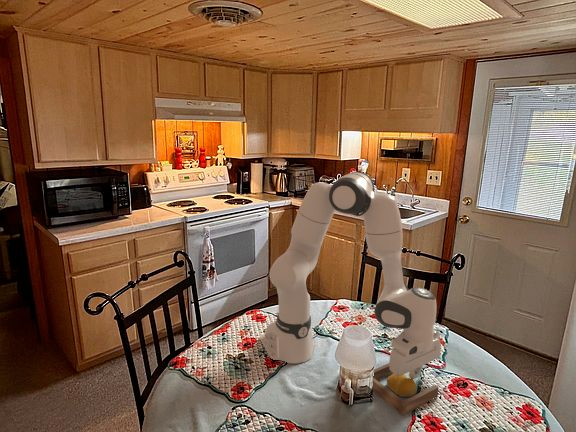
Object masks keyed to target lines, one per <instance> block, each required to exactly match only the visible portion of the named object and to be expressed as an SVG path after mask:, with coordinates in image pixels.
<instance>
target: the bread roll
mask: <svg viewBox="0 0 576 432" xmlns="http://www.w3.org/2000/svg"><path fill="white" fill-rule="evenodd" d="M386 385H387V388H388V389H389V390H390V391H391V392H392V393H394V394H395V395H396V396H398V397H403V398H406V397H408V398H410V397H413V396H414V395H416V393H417V387H418V386H417V384H416V382H415V379H411V378H410V377H408V376H407V375H406V374H403V375H401V376H396V375H395V374H394V373H392V374H390V375H388V377H387V379H386Z"/></svg>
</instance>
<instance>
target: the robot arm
mask: <svg viewBox="0 0 576 432" xmlns="http://www.w3.org/2000/svg"><path fill="white" fill-rule="evenodd" d="M374 191H375V185H374V181H373V179H372V177H371V176H370V175H369V174H367V173H365V172H363V171H353V172H350V173H346V174H344V175H343V176H341V177H340V178H339V179H337V180H336V181H334V182H333V183H332V184H329V183H327V182H321V181H320V182H315V183H313V184H312V185H311V186H309V189H308V190H307V192H306V194H305V196H304V197H303V199H302V201H301V203H300V206H299V208H298V211H297V213H296V216H295V219H294V222H293V224H292V228H291V230H290V233H291V239H290V243H289V246H288V248H287V249H286V251H285V252H284V253H283V254H281V255H280V256H279V257H278V258H276V259H275V261H274V263H273V264H272V265H271V267H270V269H269V281H270V282H271V284H272V285H273V286H274V287H275V288H276V292H277V296H278V312H275V313H274V315H275V317H276V320H275V321H273V322H271V323H270V324H268V325H267V326H266V329H265V333H263V334H262V335H260V336H259V341H260V340H261V341H260V343H261V342H262V343H261V345H262V344H263V345H262V347H263V346H264V347H265V349H266V350H265V349H264V350H265V352H266V351H267V352H266V354H267V353H268V354H267V355H269V356H270V358H271V359H273V360H282V361H285V362H284V363H286V362H287V364H302V363H306V362H307V361H309V360H310V359H311V358H312V357H313V355H314V350H315V348H316V341H314V334H313V327H312V318H311V296H310V294H309V292H308V289H307V284H306V283H307V282H306V281H307V278H308V276H309V274H311V273H312V272H313V271H314V269H315V268H316V266H317V263H318V260H319V256H320V253H321V249H322V245H323V242H324V239H325V236H326V234H327V232H328V230H329V227H330V224H331V222H332V219H333V217H334V215H335V212H336V211H337V212H339V213H341V214H344V215H346V214H347V215H352V216H356V217H362V218H363V222H364V223H363V224H364V232H365V233H364V234H365V241H366V245H367V248H368V251H369V252H370V254H372V255H373V256H374V257H375V258H377V259H378V258H379V259H380V262H381V266H382V267H381V268H382V273H383V280H384V281H383V282H384V283H383V288H382V290H381V292H380V296H379V298H378V300H377V301H376V305H375V307H374V317H375V319H376V320H377V322H378V323H379V324H380V325H382V326H384V327H386V328H391V329H401V330H402V331H401V332H400V334H398V335H397V336H396V337H395V338H394V339H393V340H392V341H391V343H390V344H391V345H390V347H392V349H391V351H390V354H389V355H390V356H389V369H390V371H391V372H392V374H395V375H396V376H401V375H403V374H404V375H406V374H408V378H410V379H413V380H415V379H417V378H419V377H420V374H421V372H422V369H423V367H424V366H425V365H426V364H429V363H431V362H433V361H435V360H438V359H439V358H440V356H441V353H442V352H441V351H442V350H441V348H442V345H441V344H442V343H441V338H440V336H441V334H440V333H439V332H438V331H435V328H434V326H435V323H436V318H437V299H436V297H435V295H434V294H433V293H432V292H431V291H429V290H428V289H427V288H423V287H418V286H414V287H411V288H410V289H409V288H408V286H407V284H406V282H405V278H404V270H403V264H402V251H403V244H404V243H403V241H404V239H403V237H404V234H403V225H402V224H403V223H402V218H401V212H400V209H399V204H398V202H397V200H396V198H395V197H394V196H393V195H391V194H388V193H376V192H374ZM264 347H263V348H264ZM272 355H273V356H272ZM269 356H268V357H269ZM270 358H269V359H270ZM282 361H281V362H282Z"/></svg>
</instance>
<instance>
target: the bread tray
mask: <svg viewBox="0 0 576 432" xmlns="http://www.w3.org/2000/svg"><path fill="white" fill-rule="evenodd" d="M373 370H374V376H373V393H375V394H376V395H377V396H378V397H380V398H381V399H382V400H383V401H384V402H385V403H387V404H388V405H389V406H390V407H392V409H393V410H395V411H396V412H397V413H398V414H400V415H401V416H405V415H406V414H408V413H410V412H412V411H414V410H416V409H418V408H419V407H421V406H423V405H425V404H427V403H429V402H431V401H432V399H433V398H435V397H436V398H438V397H437V396H439V395H438V393H439V386H438V385H436V384H434V385H432V386H431V387H428V388H427V389H424V390H422V391H420V392H419V393H417V394H416V393H415V394H414V395H413V396H410V397H408V398H407V399H405V400H403V399H402V398H400V396H398V395H397V394H396V393H395V392H393V391H392V390H391V389H390V388H388V387H386V386H385V385H383V384H382V383H381V382H380V381H379V380H381V379H383V378H386V377H387V376H388V377H389V376H391V375H392V374H393V373H392V372H391V371H390V369H389V363H388V362H387V363H386V364H384V365H381V366H379V367H377V368H374V369H373ZM436 398H435V399H436ZM430 400H431V401H430ZM433 400H434V399H433ZM428 401H429V402H428ZM426 402H427V403H426ZM424 403H425V404H424Z"/></svg>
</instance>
